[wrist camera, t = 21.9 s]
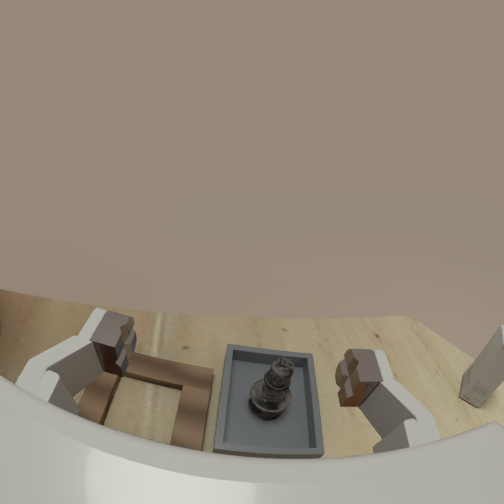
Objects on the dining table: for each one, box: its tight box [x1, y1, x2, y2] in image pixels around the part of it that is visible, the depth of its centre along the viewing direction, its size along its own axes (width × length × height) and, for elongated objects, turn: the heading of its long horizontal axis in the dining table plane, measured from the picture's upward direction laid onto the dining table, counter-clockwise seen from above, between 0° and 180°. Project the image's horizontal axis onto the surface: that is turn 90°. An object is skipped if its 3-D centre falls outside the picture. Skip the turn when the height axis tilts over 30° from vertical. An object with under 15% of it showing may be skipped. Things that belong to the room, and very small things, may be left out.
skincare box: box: [459, 324, 504, 407], centre depth 37 cm, size 8×7×16 cm
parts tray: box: [213, 344, 324, 459], centre depth 36 cm, size 18×14×4 cm
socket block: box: [78, 352, 214, 451], centre depth 33 cm, size 18×18×2 cm
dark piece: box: [248, 357, 294, 421], centre depth 34 cm, size 6×6×12 cm
